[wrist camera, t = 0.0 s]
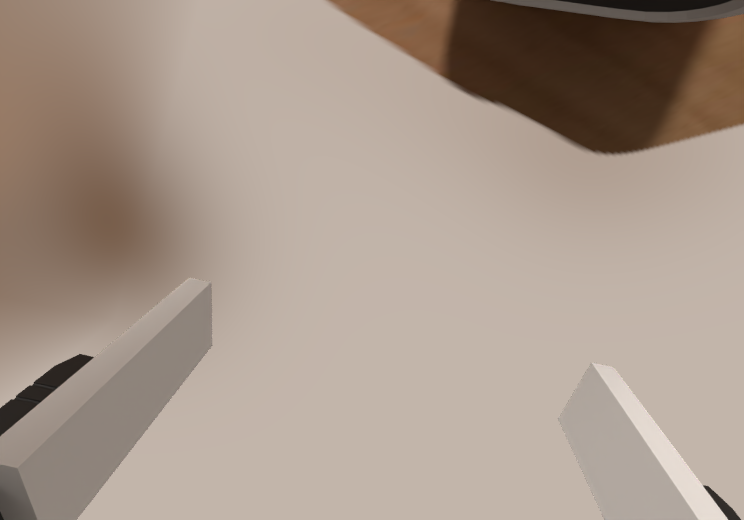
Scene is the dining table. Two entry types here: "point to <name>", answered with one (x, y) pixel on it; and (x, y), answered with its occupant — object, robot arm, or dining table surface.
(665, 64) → the dining table surface
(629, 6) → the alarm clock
